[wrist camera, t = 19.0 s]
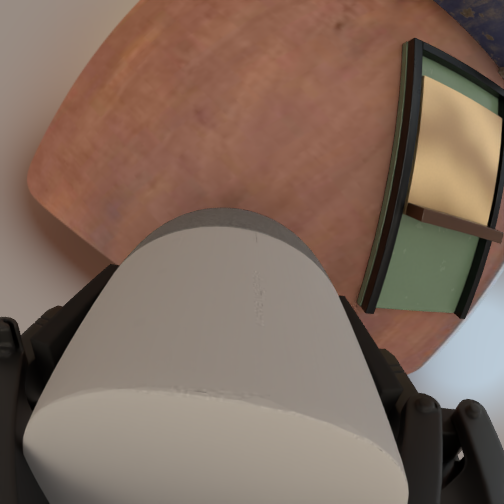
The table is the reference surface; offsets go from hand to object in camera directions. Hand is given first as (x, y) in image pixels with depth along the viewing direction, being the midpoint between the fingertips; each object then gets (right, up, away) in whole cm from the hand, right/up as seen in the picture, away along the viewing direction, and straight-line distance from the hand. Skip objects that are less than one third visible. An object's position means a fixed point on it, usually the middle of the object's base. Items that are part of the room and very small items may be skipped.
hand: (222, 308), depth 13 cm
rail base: (+22, +9, +13) cm, 27 cm away
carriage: (+22, +12, +11) cm, 28 cm away
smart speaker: (0, +1, +3) cm, 3 cm away
